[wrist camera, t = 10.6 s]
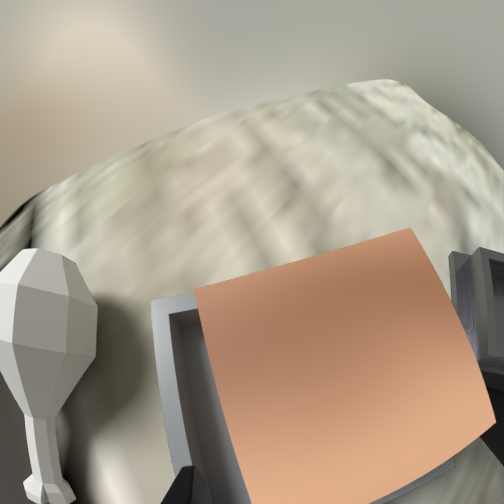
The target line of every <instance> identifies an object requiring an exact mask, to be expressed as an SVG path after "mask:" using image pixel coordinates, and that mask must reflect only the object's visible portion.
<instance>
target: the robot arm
mask: <svg viewBox="0 0 504 504" xmlns="http://www.w3.org/2000/svg"><path fill="white" fill-rule="evenodd" d="M480 371H481V374H482V377H483V380H484V383H485V386H486V389H487V392H488V395H489V399H490V402H491V405H492V409H493V412H494V416H495V420H496V423H495V424H493V425H492V426H491V427H490V428H489V429H488V430H486V431H485V432H484V433H483V434H482V435H480V438H481V439H482V440H483V441H484V442H485V444H486V445H487V446H488V447H489V449H490V450H491V451H492V452H493V454H494V455H495V456H496V457H497V459H498V460H499V461H500V462H501V464H502V465H503V466H504V374H499V373H494V372H489V371H483V370H480ZM161 504H210V501H209V496H208V491H207V485H206V481H205V478H204V477H203V475H202V474H201V472H200V471H199V470H198V468H197V467H196V466H195V465H189V466H183V467H182V468H181V469H180V471H179V473H178V475H177V476H176V478H175V480H174V482H173V483H172V485H171V487H170V489H169V490H168V492H167V494H166V495H165V497H164V499H163V501H162V502H161Z"/></svg>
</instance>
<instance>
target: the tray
mask: <svg viewBox="0 0 504 504" xmlns="http://www.w3.org/2000/svg"><path fill="white" fill-rule="evenodd" d="M151 314H152V327H153V339H154V349H155V359H156V367H157V376H158V383H159V391H160V398H161V404H162V411H163V417H164V423H165V429H166V434H167V439H168V445H169V450H170V454H171V459H172V464H173V468H174V473H175V477H176V476H177V475H178V473H179V471H180V469H181V468H182V467H183V466H189V465H195V466H196V467H197V468H198V470H199V471H200V472H201V474H202V475H203V477H204V478H205V481H206V485H207V491H208V496H209V501H210V504H252V503H251V500H250V497H249V494H248V491H247V488H246V485H245V482H244V479H243V476H242V473H241V470H240V467H239V464H238V460H237V457H236V454H235V451H234V448H233V444H232V441H231V438H230V434H229V431H228V427H227V424H226V420H225V417H224V413H223V410H222V406H221V402H220V399H219V395H218V391H217V387H216V383H215V379H214V375H213V372H212V368H211V363H210V359H209V355H208V351H207V347H206V343H205V338H204V334H203V329H202V325H201V320H200V316H199V311H198V307H197V302H196V297H195V292H192V293H187V294H182V295H177V296H172V297H167V298H162V299H156V300H151ZM453 467H454V460H453V456H452V457H451V458H449V459H448V460H446V461H445V462H444V463H442V464H440V465H439V466H437V467H436V468H434V469H433V470H431V471H429V472H428V473H426V474H425V475H423V476H421V477H419V478H418V479H416V480H414V481H413V482H411V483H409V484H407V485H405V486H403V487H402V488H400V489H398V490H396V491H394V492H392V493H390V494H388V495H386V496H384V497H382V498H380V499H377V500H375V501H373V502H371V503H369V504H384V503H386V502H388V501H390V500H393V499H395V498H397V497H399V496H401V495H404V494H406V493H408V492H410V491H412V490H414V489H416V488H418V487H420V486H422V485H423V484H425V483H427V482H429V481H431V480H433V479H434V478H436V477H438V476H440V475H441V474H443V473H445V472H446V471H448V470H450V469H451V468H453Z"/></svg>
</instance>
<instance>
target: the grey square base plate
mask: <svg viewBox="0 0 504 504" xmlns="http://www.w3.org/2000/svg"><path fill="white" fill-rule="evenodd" d="M448 257H449V268H450V281H451V299H452V304H453V306H454V308H455V311H456V313H457V315H458V317H459V319H460V321H461V324H462V326H463V328H464V331H465V333H466V335H467V338H468V340H469V342H470V345H471V347H472V350H473V353H474V355H475V358H476V360H477V363H478V366H479V368H480V370H483V371H489V372H494V373H499V374H504V254H503V253H499V252H496V251H492V250H489V249H485V248H482V247H479V248H478V249H477V250H476V251H475V252H474V253H473V254H472V255H467V254H463V253H459V252H455V251H452V252H451V254H450V255H449V256H448Z"/></svg>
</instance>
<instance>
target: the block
mask: <svg viewBox="0 0 504 504" xmlns="http://www.w3.org/2000/svg"><path fill="white" fill-rule="evenodd" d="M194 292H195V297H196V302H197V307H198V311H199V316H200V320H201V325H202V329H203V334H204V338H205V343H206V347H207V351H208V355H209V359H210V363H211V368H212V372H213V375H214V379H215V383H216V387H217V391H218V395H219V399H220V402H221V406H222V410H223V413H224V417H225V420H226V424H227V427H228V431H229V434H230V438H231V441H232V444H233V448H234V451H235V454H236V457H237V460H238V464H239V467H240V470H241V473H242V476H243V479H244V482H245V485H246V488H247V491H248V494H249V497H250V500H251V503H252V504H369V503H371V502H373V501H375V500H377V499H380V498H382V497H384V496H386V495H388V494H390V493H392V492H394V491H396V490H398V489H400V488H402V487H403V486H405V485H407V484H409V483H411V482H413V481H414V480H416V479H418V478H419V477H421V476H423V475H425V474H426V473H428V472H429V471H431V470H433V469H434V468H436V467H437V466H439V465H440V464H442V463H444V462H445V461H446V460H448V459H449V458H451V457H452V456H454V455H455V454H457V453H458V452H459V451H461V450H462V449H463V448H465V447H466V446H467V445H469V444H470V443H471V442H473V441H474V440H475V439H477V438H478V437H479V436H480V435H482V434H483V433H484V432H485V431H486V430H488V429H489V428H490V427H491V426H492V425H493V424H495V423H496V420H495V416H494V412H493V409H492V405H491V402H490V399H489V395H488V392H487V389H486V386H485V383H484V380H483V377H482V374H481V371H480V368H479V366H478V363H477V360H476V358H475V355H474V353H473V350H472V347H471V345H470V342H469V340H468V338H467V335H466V333H465V331H464V328H463V326H462V324H461V321H460V319H459V317H458V315H457V313H456V311H455V308H454V306H453V304H452V302H451V300H450V298H449V296H448V294H447V292H446V290H445V288H444V286H443V284H442V282H441V280H440V278H439V276H438V275H437V273H436V271H435V269H434V267H433V265H432V264H431V262H430V260H429V258H428V256H427V255H426V253H425V251H424V249H423V248H422V246H421V244H420V243H419V241H418V239H417V238H416V236H415V234H414V233H413V231H412V229H411V228H407V229H404V230H401V231H397V232H394V233H391V234H387V235H384V236H381V237H377V238H374V239H371V240H367V241H364V242H361V243H357V244H354V245H351V246H347V247H344V248H340V249H337V250H334V251H330V252H327V253H323V254H320V255H316V256H313V257H309V258H306V259H302V260H299V261H295V262H292V263H288V264H285V265H281V266H278V267H274V268H270V269H267V270H263V271H260V272H256V273H252V274H249V275H245V276H241V277H238V278H234V279H230V280H227V281H223V282H219V283H216V284H212V285H208V286H204V287H201V288H197V289H194Z"/></svg>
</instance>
